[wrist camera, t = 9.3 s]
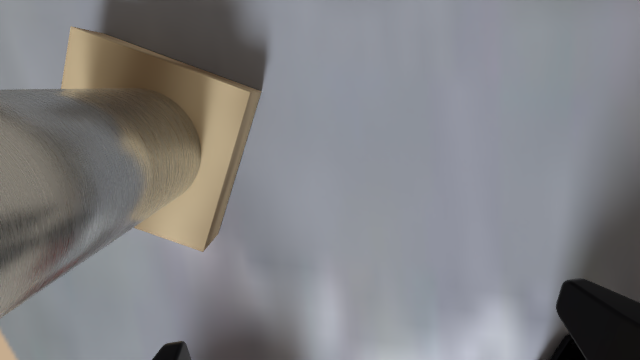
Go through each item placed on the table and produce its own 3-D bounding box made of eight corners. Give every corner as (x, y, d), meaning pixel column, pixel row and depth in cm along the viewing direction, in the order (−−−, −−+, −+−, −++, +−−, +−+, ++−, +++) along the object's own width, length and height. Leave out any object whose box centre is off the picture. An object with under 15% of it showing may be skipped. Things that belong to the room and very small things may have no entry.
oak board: (261, 91, 20) (250, 92, 17) (218, 233, 22) (203, 251, 20) (104, 33, 20) (70, 26, 17) (76, 183, 22) (44, 196, 20)
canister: (191, 80, 18) (-318, 63, 4) (212, 202, 19) (-106, 488, 6) (71, 91, 18) (-750, 109, 4) (100, 209, 20) (-446, 489, 6)
